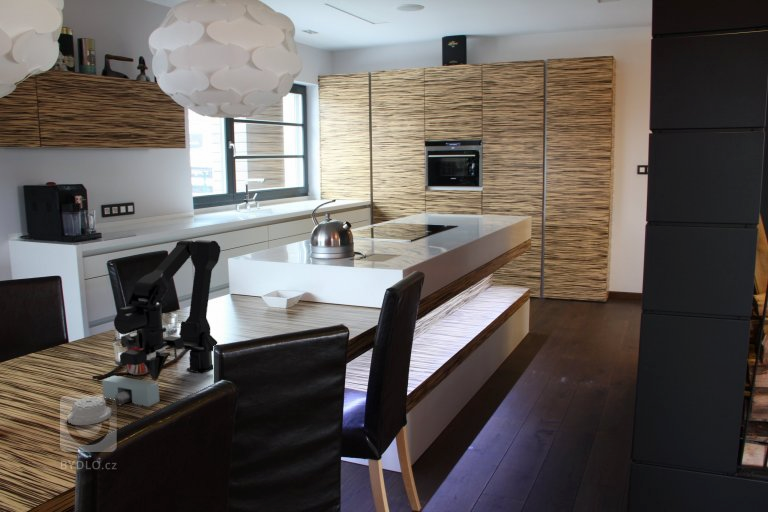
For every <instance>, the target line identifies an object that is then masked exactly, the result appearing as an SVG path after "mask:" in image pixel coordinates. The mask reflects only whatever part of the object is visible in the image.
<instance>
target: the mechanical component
mask: <svg viewBox="0 0 768 512" xmlns="http://www.w3.org/2000/svg"><path fill="white" fill-rule="evenodd" d="M105 399H106V398H103V397H101V396H100V397H97V396H96V397H95V396H91V397H84V398H80V399H77V401H76V402H72V405H71V407H72V411H71V412H70V413H68V415H67V422H68V423H69V424H70V423H71V425H74V426H89V425H94V424H98V423H101V422H104V421H107V419H110V417H111V416H112V408H110V407H109V406H106V400H105Z"/></svg>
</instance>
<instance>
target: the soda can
mask: <svg viewBox="0 0 768 512" xmlns="http://www.w3.org/2000/svg"><path fill="white" fill-rule="evenodd" d="M128 334H129V335H130V336H131V337H132V336H135V335H137V331H134V332H130V333H127V334H126V335H128ZM131 349H134V350H140V351H141V350H142V348H140V349H138V348H136V347H133V348H131ZM131 349H129V350H131ZM125 351H128V349H127V347H125ZM126 368H127V372H128V373H129V374H131V375H132V374H133V375H132V376H142V375H146V374H148V373H149V371H148V369H147V367H146V365H145V364H144V363H141V364H139V365H130V364H126Z"/></svg>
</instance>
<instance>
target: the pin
mask: <svg viewBox="0 0 768 512" xmlns="http://www.w3.org/2000/svg"><path fill="white" fill-rule="evenodd" d="M114 401H115V403H116V404H117V405H118V404H122V405H124V404H126V403H129V402H131V401H132V390H130V389H128V390H126V391H123V392H121V393H119V394H116V396H115V400H114Z"/></svg>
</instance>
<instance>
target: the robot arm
mask: <svg viewBox="0 0 768 512" xmlns="http://www.w3.org/2000/svg"><path fill="white" fill-rule="evenodd" d="M220 255H221V246H220V245H219V242H217V241H216V240H206V239H205V240H203V239H196V240H189V239H187V240H185V239H181V240H179V241H177V242H176V244H175V247H173V249H172V250H171V251H170V252H169V254H168V255H167V256H166V257H165V258H164V259H163V261H162V262H160V264H159V265H158V266H157V268H155V269H154V270H153V271H152V272H149V273H147V274H145V275H143V276H142V277H141V278H140V279H138V280H137V281H136V282H135V284H134V285H133V289H132V292H131V294H130V296H129V298H128V300H127V303H126V306H125V307H121V308H119V309H118V313H117V314H116V315H115V317H114V320H113V325H114V328H115V330H116V331H117V332H118V333H119V334H120V335H122V336H120V344H121V347H122V348H125V349H126V347H127V349H128V351H126V350H125V351H122V352H121V354H120V355H119V363H120V364H125V365H127V364H130V365H139V364H141V363H144V364H145V365H146V367H147V369H148V371H149V372H148V373H149V375H150V377H151V380H152V381H157V380H159V377H160V375H161V372H162V370H163V367H164V365H165V364H166V362H167V359H168V357H169V356H171V353H170V352H167V349H169V348H171V347H174V348H173V349H175V350H180V349H183V348H184V350H189V357H188V358H189V359H188V360H189V367H187V368H186V371H189V372H195V373H206V372H208V371H210V370H212V369H214V368H213V365H214V364H213V354H212V352H214V351H213V346H214V345H216V344H217V345H218V341H217V340H216V339H215V338H214V337H213V336H212V335H211V325H210V323H209V321H208V318H207V313H208V306H209V305H208V304H209V297H210V290H211V289H210V288H211V281H212V272H213V269H214V268H215V267H216V266H217V264H218V262H219V259H220ZM189 259H190V261H191V263H192V265H193V266H194V271H193V272H194V274H193V281H192V282H193V283H192V289H191V290H192V291H191V300H190V306H189V315H188V317H187V318H186V320H185V321H183V320H182V321H181V323H180V331H179V334H178V335H179V336H180V337H179V336H172V335H168V336H166V337H164V333H165V332H167V327H163V316H162V308H164V307H167V306H168V303H166V302H165V301H164V300H163V298H164V297H165V295H166V293H167V292H168V289H169V282H170V281H171V280H172V278H173V277H175V275H176V274H177V272H178V271H180V269H181V268H182V267H183V265H184V264H185V263H186V262H187V261H188V260H189ZM131 332H137V335H135V336H132V337H131V336H130V335H129V333H131ZM127 334H128V335H127ZM133 347H136V348H138V349H140V348H142V350H141V351H140V350H134V349H131V348H133ZM129 349H131V350H129Z"/></svg>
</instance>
